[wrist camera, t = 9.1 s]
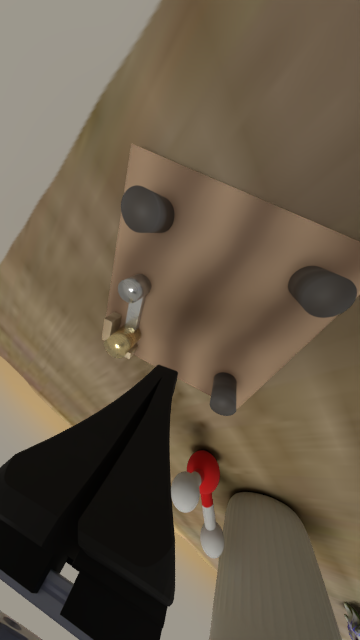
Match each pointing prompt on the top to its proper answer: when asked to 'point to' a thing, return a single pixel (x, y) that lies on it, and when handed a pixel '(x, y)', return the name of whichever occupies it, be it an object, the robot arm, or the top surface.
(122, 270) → the wooden board with pegs
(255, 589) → the canister
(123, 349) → the metal crank handle
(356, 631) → the passion flower
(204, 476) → the molecular model
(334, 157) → the top surface
